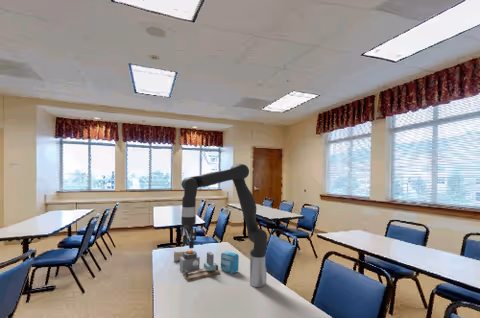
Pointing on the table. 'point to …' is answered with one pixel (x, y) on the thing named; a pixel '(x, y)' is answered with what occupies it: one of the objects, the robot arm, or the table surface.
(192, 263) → the grey dispenser housing
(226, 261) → the data package
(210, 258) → the carriage
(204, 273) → the rail base
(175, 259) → the model
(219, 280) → the table surface
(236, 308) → the table surface
